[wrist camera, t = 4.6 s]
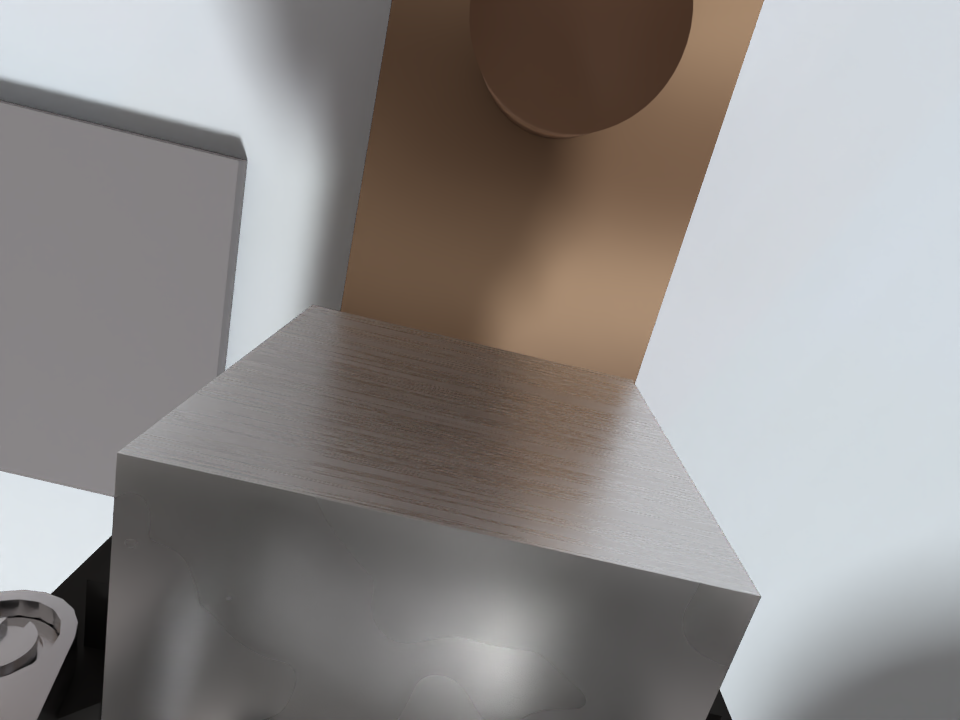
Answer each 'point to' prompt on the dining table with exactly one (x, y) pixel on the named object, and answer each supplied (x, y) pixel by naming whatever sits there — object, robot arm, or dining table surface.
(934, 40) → the dining table surface
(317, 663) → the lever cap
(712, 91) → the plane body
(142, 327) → the rubber mat
